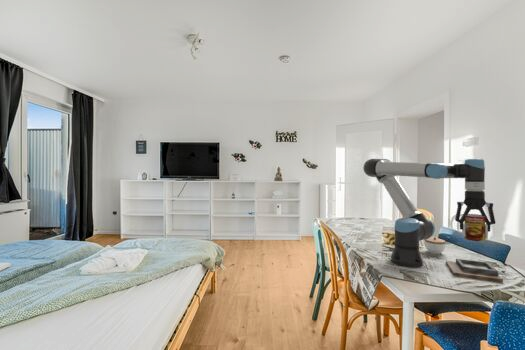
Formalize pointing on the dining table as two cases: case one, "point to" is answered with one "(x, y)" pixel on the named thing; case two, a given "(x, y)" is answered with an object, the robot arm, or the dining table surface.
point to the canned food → (475, 228)
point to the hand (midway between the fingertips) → (474, 237)
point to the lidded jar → (435, 245)
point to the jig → (474, 270)
